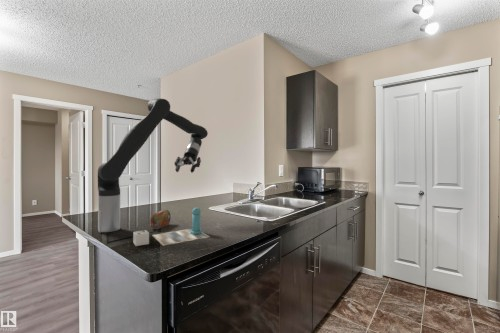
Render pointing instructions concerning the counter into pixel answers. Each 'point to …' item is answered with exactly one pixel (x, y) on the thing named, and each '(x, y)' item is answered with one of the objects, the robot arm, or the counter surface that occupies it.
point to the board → (177, 237)
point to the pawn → (196, 221)
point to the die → (141, 237)
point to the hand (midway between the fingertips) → (184, 171)
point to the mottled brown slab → (160, 219)
